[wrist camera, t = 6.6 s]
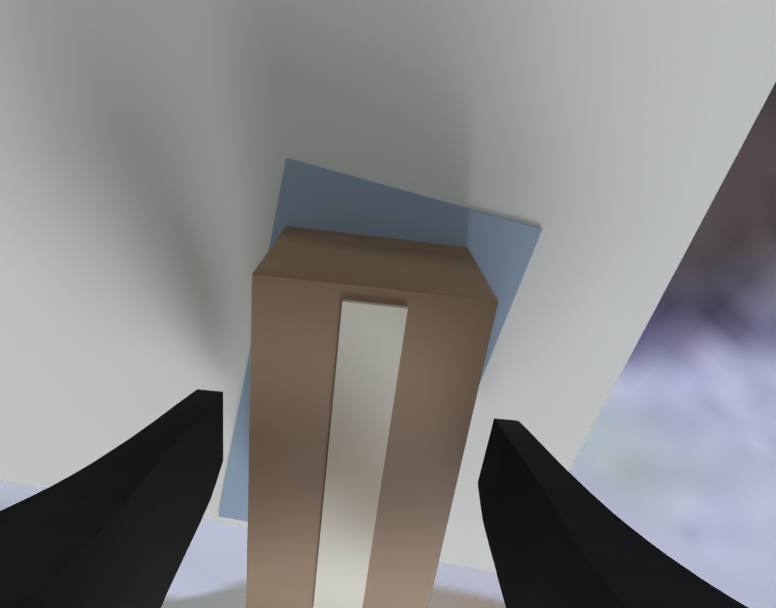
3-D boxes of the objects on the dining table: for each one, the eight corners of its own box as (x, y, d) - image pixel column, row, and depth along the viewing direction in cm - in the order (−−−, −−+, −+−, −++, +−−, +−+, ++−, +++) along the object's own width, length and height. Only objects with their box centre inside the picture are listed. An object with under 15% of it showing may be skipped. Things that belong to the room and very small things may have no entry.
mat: (857, -113, 10) (890, -128, 9) (509, 560, 18) (514, 578, 17) (-222, -543, 8) (-275, -600, 7) (-94, 445, 15) (-115, 461, 15)
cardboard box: (415, 516, 16) (424, 627, 12) (274, 504, 15) (245, 616, 12) (467, 247, 12) (499, 302, 9) (286, 226, 12) (250, 276, 9)
